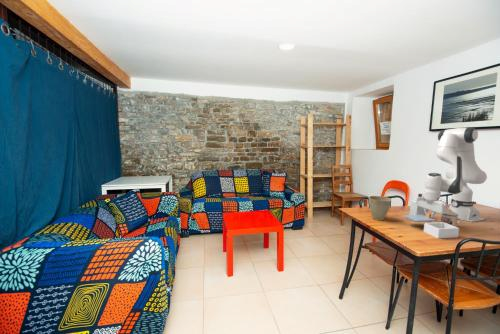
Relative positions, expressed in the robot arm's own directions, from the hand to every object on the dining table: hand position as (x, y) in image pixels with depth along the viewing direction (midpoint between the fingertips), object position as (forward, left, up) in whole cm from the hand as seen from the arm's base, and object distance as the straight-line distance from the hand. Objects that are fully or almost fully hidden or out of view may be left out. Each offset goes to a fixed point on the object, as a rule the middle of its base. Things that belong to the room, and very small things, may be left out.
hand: (429, 216), depth 158 cm
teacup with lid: (-15, +2, -7) cm, 17 cm away
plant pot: (+26, -17, -7) cm, 32 cm away
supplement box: (-7, -17, -7) cm, 20 cm away
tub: (+6, +14, -7) cm, 17 cm away
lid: (+7, 0, -3) cm, 8 cm away
